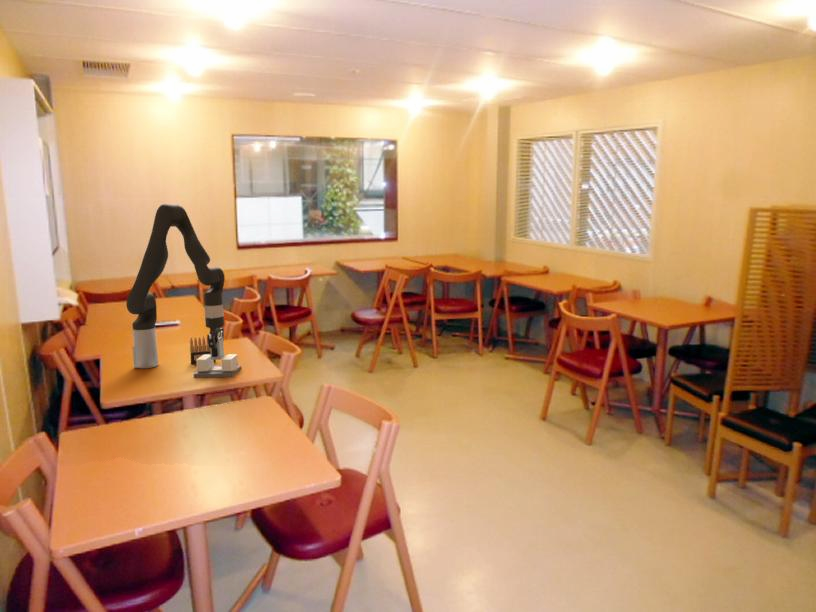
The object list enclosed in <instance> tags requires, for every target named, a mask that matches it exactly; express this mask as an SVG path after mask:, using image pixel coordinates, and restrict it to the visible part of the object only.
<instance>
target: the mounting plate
mask: <svg viewBox="0 0 816 612" xmlns="http://www.w3.org/2000/svg"><path fill="white" fill-rule="evenodd" d="M241 370H242V365H238V366H237V367H236V368H235V369H233V370H232V371H222V365H214V366H213V367H212V368H210V369H209V370H208V371H197V370H196V372H194V373H193V378H195V379H196V378H233V377H235V376H236V375H237V374H238V373H239V372H240V371H241Z"/></svg>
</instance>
